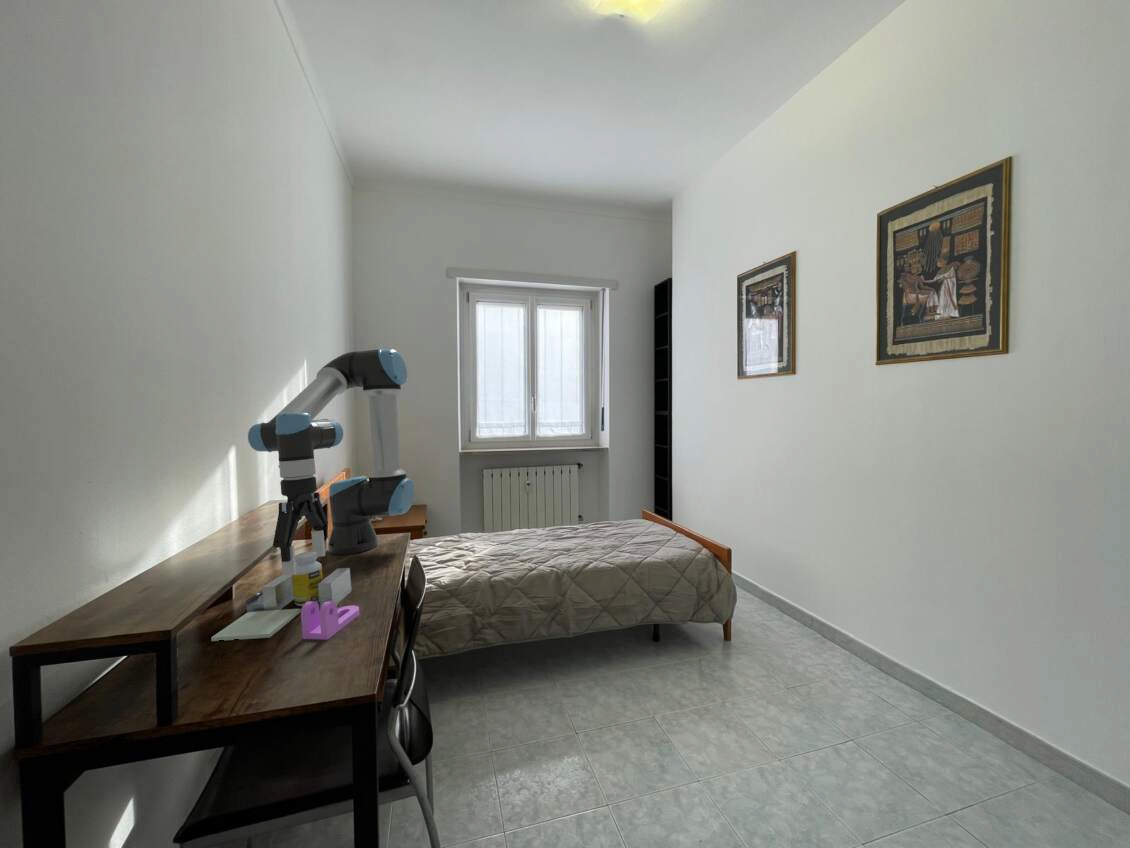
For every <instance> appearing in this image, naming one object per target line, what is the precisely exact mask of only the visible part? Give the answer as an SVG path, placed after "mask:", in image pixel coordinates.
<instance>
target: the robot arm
mask: <svg viewBox="0 0 1130 848" xmlns="http://www.w3.org/2000/svg"><path fill="white" fill-rule="evenodd" d="M407 378H408V371H407V366H406V363H405V360H404V359H403V357H402V355H401V354H400V353H399V351H397V350H395V349H391V348H389V349H388V348H380V349H370V350H359V351H356V350H355V351H350V352H346V353H343V354H341V355H340V356H339V355H338V356H337V357H335V358H333V359H332V360H330V361H329V362H328V363H326V364H325V365H324V366H322V368H320V369H319V371H318V372H317V373H316V378H315V379H314V380H313V381H311V383H310V384H308V385H307V386H306V387H305V388H304V389H303V390H301V391H300V392H299V394H298V395H296V396H295V397H294V398H293V399H292V400H291V401H290V402H289V403H288V404H286V405H285V406H284V407H283V408H282V409H281V410H280V411H279V412H278V413H277V414H276V415H275V416H274V417H272V419H270V420H269V421H268V422H261V423H255V424H253V425H252V426H251V427H250V428H249V430H248V432H247V442H248V443H249V446H250V447H251V448H252V449H253V450H255V451H256V452H268V453H272V452H277V453H278V468H279V477H280V478H282V480H280V483H279V484H280V493H281V496H284V497H286V498H287V500H286V502H279V503H278V514H277V521H276V526H275V531H274V536H273V542H272V546H273V548H274V549H275V548H276V549H277V548H279V550H280V560H281V567H282V568H281V570H282V574H283V575H295V574H296V565H297V564H296V562H295V556H296V551H295V545H292V544H293V541H294V539H295V538H294V537H295V535H296V531H297V528H298V526H299V521H301V520H302V519H303V518H304V517H305V519H306V521H307V523H309V525H310V527H311V528H312V530H311V531H310V532H311V543H312V544H311V545H312V552H316V554H317V558H318V557H325V556H326V549H325V535H324V530H328V523H329V522H328V519H327V516H326V513H325V511H324V508H323V505H322V501H321V500H320V499H321V498H320V493H319V492H318V488H317V487H318V485H317V478H316V476H315V475H316V473H317V472H316V461H315V454H314V453H315V452H314V451H315V450H323V449H331V448H334V447H337V446H338V445H340V443H341V442H342V440H343V438H344V429H343V427H342V426H343V425H341V424H340V423H339V422H338V421H336V420H334V419H328V418H324V419H323V418H322V419H315V418H316V417H317V416H318V415H319V414H320V413H321V412H322V411H323V410H324V409H325V408H326V407H327V405H329V403H330V402H331V401H332V400H333V399H334V398H335V397H336V396H337V395H341V394H343V393H345V392H346V391H347V390H349V389H353V388H362V393H364V394H365V395H366V396H367V397H368V411H369V427H370V428H369V429H370V442H371V457H372V458H371V459H372V471H371V472H370V473H369V474H368V477H367V476H366V475H359V476H355V477H351V478H345V479H341V480H337V481H334V482H332V483H331V484H330V485H329V489H328V490H329V491H328V492H329V496H328V498H329V506H330V515H331V525H332V526H331V527H332V528H331V531H330V537H329V540H328V543H327V544H328V545H327V551H328V553H329V554H332V555H335V556H336V555H338V556H339V555H352V554H357V553H361V552H366V551H368V550H371V549H373V548H375V547H376V546H378V544H379V541H378V540H379V539H378V535H377V534H376V533H377V532H376V531H375V529H374V527H373V525H372V522H371V517H378V516H381V517H383V516H385V517H386V516H390V517H394V516H400V515H404V514H406V513H407V512H408V511H409V510H410V508H411V506H412V504H413V502H414V497H415V485H414V482H413V480H412V479H410V478H407V472H406V470H404V469H402V466H401V465H402V463H401V462H402V461H401V448H400V447H401V446H400V433H399V418H398V417H399V416H398V403H397V402H398V399H397V395H398V394H399V393H400V392H401V391H402V387H401V386H402V385H403V384H405V383H406V382H407ZM365 550H366V551H365Z"/></svg>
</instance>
